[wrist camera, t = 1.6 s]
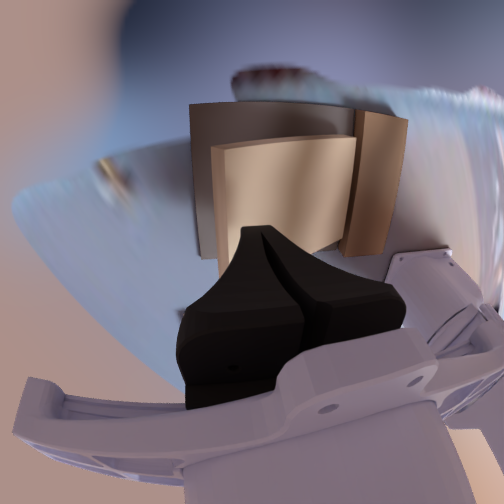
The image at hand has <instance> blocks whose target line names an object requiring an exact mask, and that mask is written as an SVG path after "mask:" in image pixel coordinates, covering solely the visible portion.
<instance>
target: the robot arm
mask: <svg viewBox="0 0 504 504" xmlns="http://www.w3.org/2000/svg"><path fill="white" fill-rule="evenodd" d="M451 255H452V249H451V248H446V249H437V250H427V251H417V252H407V253H397V254H395V255H394V256H393V258H392V261H391V264H390V267H389V270H388V273H387V276H386V279H385V282H384V283H383V282H379V281H374V280H370V279H366V278H363V277H360V276H357V275H354V274H351V273H348V272H345V271H343V270H341V269H338V268H336V267H333V266H331V265H329V264H327V263H325V262H323V261H321V260H320V259H318V258H316V257H314V256H312V255H311V254H309V253H308V252H306V251H305V250H303V249H301V248H300V247H299V246H297V245H296V244H294V243H293V242H292V241H290V240H289V239H288V238H287V237H285V236H284V235H283V234H282V233H280V232H279V231H278V230H277V229H275V228H274V227H273V226H271V225H258V226H243V227H242V228H241V229H240V240H239V243H238V246H237V249H236V252H235V254H234V256H233V258H232V260H231V262H230V264H229V265H228V267H227V269H226V270H225V272H224V273H223V274H222V276H221V277H220V278H219V280H218V281H217V282H216V283H215V284H214V286H213V287H212V288H211V289H210V290H209V291H208V292H207V293H205V294H204V295H203V296H202V297H201V298H200V299H198V300H197V301H195V302H194V303H193V304H191V305H190V306H188V307H187V308H186V311H185V313H184V316H183V318H182V321H181V324H180V328H179V332H178V336H177V344H176V360H177V364H178V366H179V369H180V372H181V374H182V377H183V380H184V382H185V403H169V404H168V403H138V402H123V401H111V400H101V399H94V398H86V397H79V396H73V395H67V394H65V393H64V392H63V391H62V389H61V388H60V387H59V386H57V385H56V384H55V383H53V382H51V381H48V380H43V379H38V378H33V377H28V379H27V382H26V385H25V388H24V391H23V394H22V397H21V400H20V404H19V407H18V411H17V414H16V418H15V422H14V426H13V431H12V433H13V435H14V436H16V437H17V438H19V439H20V440H22V441H23V442H25V443H26V444H28V445H29V446H31V447H32V448H34V449H35V450H37V451H39V452H40V453H42V454H44V455H45V456H47V457H49V458H51V459H52V460H55V461H58V462H62V463H65V464H68V465H71V466H74V467H78V468H81V469H85V470H89V471H92V472H96V473H100V474H105V475H108V476H113V477H117V478H123V479H127V480H133V481H139V482H145V483H151V484H159V485H168V486H179V487H184V493H185V504H476V501H475V498H474V495H473V492H472V490H471V487H470V484H469V481H468V478H467V476H466V473H465V470H464V468H463V465H462V463H461V460H460V458H459V456H458V453H457V451H456V448H455V446H454V444H453V442H452V439H451V437H450V435H449V433H448V430H447V428H446V426H445V424H446V425H447V426H448V427H449V429H480V430H481V432H482V433H483V435H484V437H485V439H486V441H487V443H488V444H489V446H490V448H491V450H492V452H493V454H494V456H495V458H496V460H497V462H498V464H499V466H500V468H501V470H502V472H503V474H504V321H503V319H502V318H501V317H500V316H499V314H498V313H497V312H496V311H495V310H494V308H493V307H492V306H491V305H490V304H484V299H483V295H482V292H481V290H480V288H479V286H478V285H477V284H476V283H475V282H474V281H473V280H472V279H471V277H470V276H469V275H468V274H467V273H466V272H465V271H464V270H463V269H462V268H461V267H460V266H459V265H458V264H457V263H456V262H455V261H454V260H453V259H452V258H451ZM402 324H403V326H404V327H405V328H400V327H401V325H402ZM444 423H445V424H444Z"/></svg>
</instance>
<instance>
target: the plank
mask: <svg viewBox="0 0 504 504" xmlns="http://www.w3.org/2000/svg"><path fill="white" fill-rule="evenodd" d="M355 147H356V137H352V136H347V135H343V134H338V135H312V136H296V137H283V138H272V139H262V140H253V141H245V142H237V143H230V144H223V145H217V146H211V163H212V183H213V200H214V216H215V230H216V244H217V257H218V269H219V278H220V277H221V276H222V274H223V273H224V272H225V270H226V269H227V267H228V265H229V264H230V262H231V260H232V258H233V256H234V254H235V252H236V249H237V246H238V243H239V240H240V229H241V228H242V227H243V226H258V225H271V226H273V227H274V228H275V229H277V230H278V231H279V232H280V233H282V234H283V235H284V236H285V237H287V238H288V239H289V240H290V241H292V242H293V243H294V244H296V245H297V246H299V247H300V248H301V249H303V250H305V251H306V252H308V253H309V254H312V253H314V252H316V251H318V250H320V249H322V248H324V247H326V246H328V245H330V244H332V243H334V242H336V241H338V240H340V239H341V238H342V237H343V231H344V226H345V220H346V214H347V208H348V201H349V195H350V188H351V181H352V173H353V165H354V157H355Z"/></svg>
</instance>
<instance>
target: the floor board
mask: <svg viewBox="0 0 504 504" xmlns="http://www.w3.org/2000/svg"><path fill="white" fill-rule="evenodd" d="M189 115H190V136H191V152H192V167H193V180H194V192H195V204H196V214H197V224H198V234H199V243H200V252H201V260H203V259H217V258H218V257H217V244H216V230H215V216H214V200H213V183H212V163H211V146H217V145H223V144H230V143H237V142H245V141H253V140H262V139H272V138H283V137H296V136H312V135H338V134H343V135H347V136H352V133H353V121H354V109H350V108H343V107H335V106H326V105H316V104H303V103H287V102H218V103H203V104H202V103H201V104H190V105H189ZM407 127H408V120H407V119H403V118H399V117H395V116H390V115H385V114H380V113H375V112H369V111H363V110H357V109H355V121H354V134H353V137H356V147H355V157H354V165H353V173H352V181H351V188H350V195H349V201H348V208H347V214H346V220H345V226H344V231H343V237H342V238H341V239H340V240H339V243H338V241H336V242H334V243H332V244H330V245H328V246H326V247H324V248H322V249H320V250H318V251H329V250H336V248H337V243H338V249H339V251H340V252H341V254H342V255H343V257H354V256H365V255H376V254H382V253H383V250H384V246H385V242H386V239H387V235H388V231H389V227H390V223H391V219H392V215H393V210H394V206H395V201H396V196H397V191H398V186H399V181H400V176H401V170H402V164H403V158H404V151H405V144H406V136H407Z"/></svg>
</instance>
